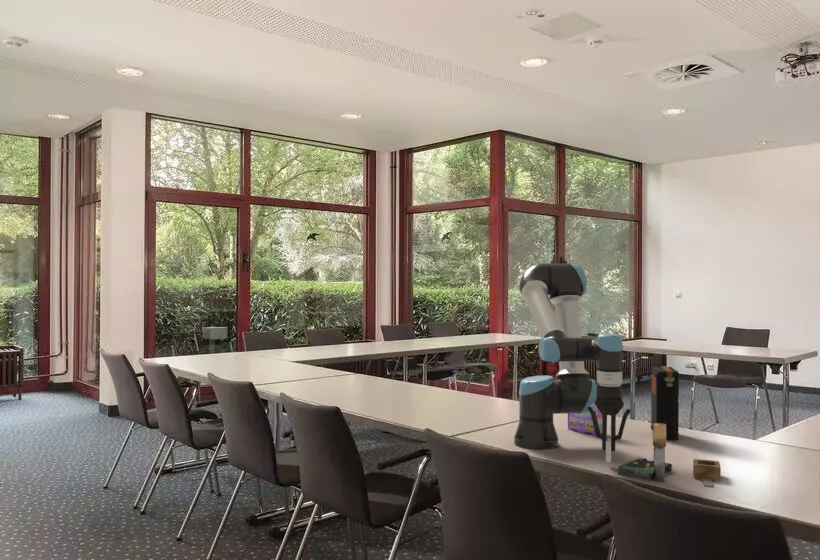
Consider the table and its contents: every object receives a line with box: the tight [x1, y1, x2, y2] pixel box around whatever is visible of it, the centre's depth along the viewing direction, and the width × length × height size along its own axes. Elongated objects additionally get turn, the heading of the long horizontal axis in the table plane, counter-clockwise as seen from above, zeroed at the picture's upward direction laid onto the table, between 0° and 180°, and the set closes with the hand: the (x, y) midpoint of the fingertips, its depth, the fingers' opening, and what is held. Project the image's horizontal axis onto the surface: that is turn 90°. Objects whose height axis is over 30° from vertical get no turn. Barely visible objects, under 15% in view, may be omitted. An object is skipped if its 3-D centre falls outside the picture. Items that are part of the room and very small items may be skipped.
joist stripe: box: [702, 478, 714, 488], centre depth 199 cm, size 2×21×1 cm, turn 159°
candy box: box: [567, 407, 602, 436], centre depth 259 cm, size 14×6×16 cm, turn 34°
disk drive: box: [617, 457, 673, 482], centre depth 203 cm, size 10×3×15 cm
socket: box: [692, 458, 722, 482], centre depth 199 cm, size 7×7×4 cm
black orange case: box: [650, 365, 680, 441], centre depth 252 cm, size 16×9×25 cm, turn 168°
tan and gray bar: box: [652, 423, 667, 483], centre depth 195 cm, size 4×4×16 cm
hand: (608, 461), depth 209 cm, fingers closed
